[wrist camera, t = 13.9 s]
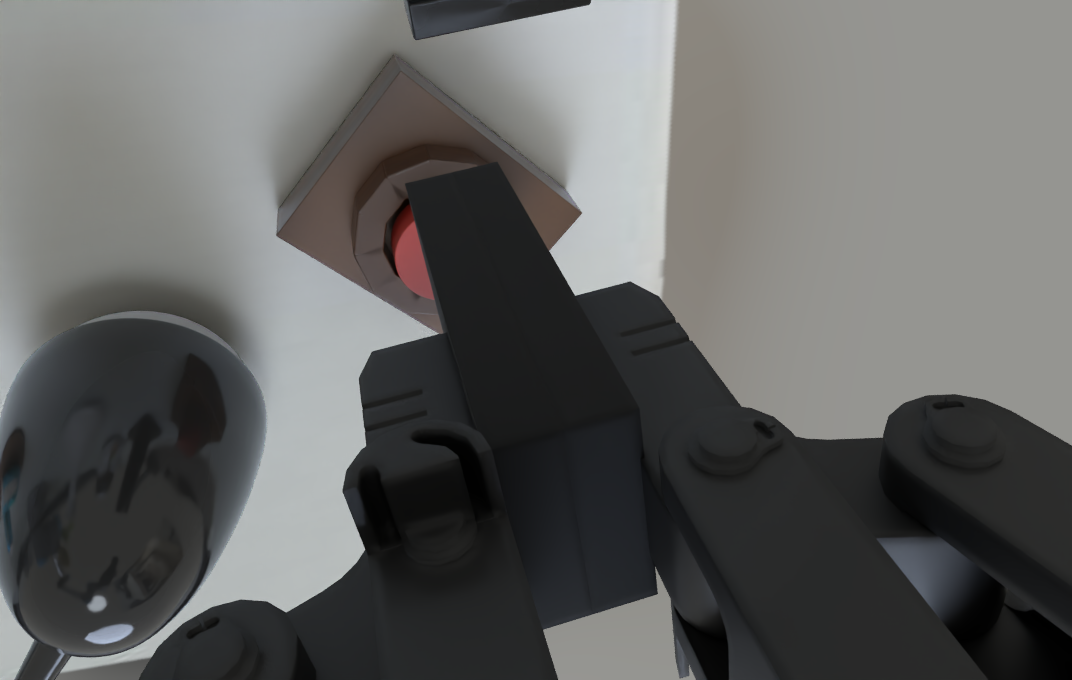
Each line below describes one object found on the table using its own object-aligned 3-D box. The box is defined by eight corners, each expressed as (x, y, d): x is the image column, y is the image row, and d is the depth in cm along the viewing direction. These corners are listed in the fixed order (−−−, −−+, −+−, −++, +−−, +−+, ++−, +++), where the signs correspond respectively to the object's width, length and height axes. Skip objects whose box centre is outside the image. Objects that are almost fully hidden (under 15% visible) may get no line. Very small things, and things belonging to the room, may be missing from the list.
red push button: (370, 248, 33) (373, 268, 32) (431, 173, 32) (437, 190, 31) (447, 297, 36) (453, 317, 34) (506, 227, 34) (515, 245, 33)
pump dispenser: (-11, 405, 38) (-167, 697, 25) (101, 234, 35) (-12, 469, 22) (198, 487, 43) (155, 764, 30) (311, 344, 40) (314, 586, 27)
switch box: (277, 210, 36) (274, 255, 32) (394, 53, 34) (405, 82, 30) (454, 319, 41) (469, 369, 37) (566, 190, 39) (594, 230, 35)
